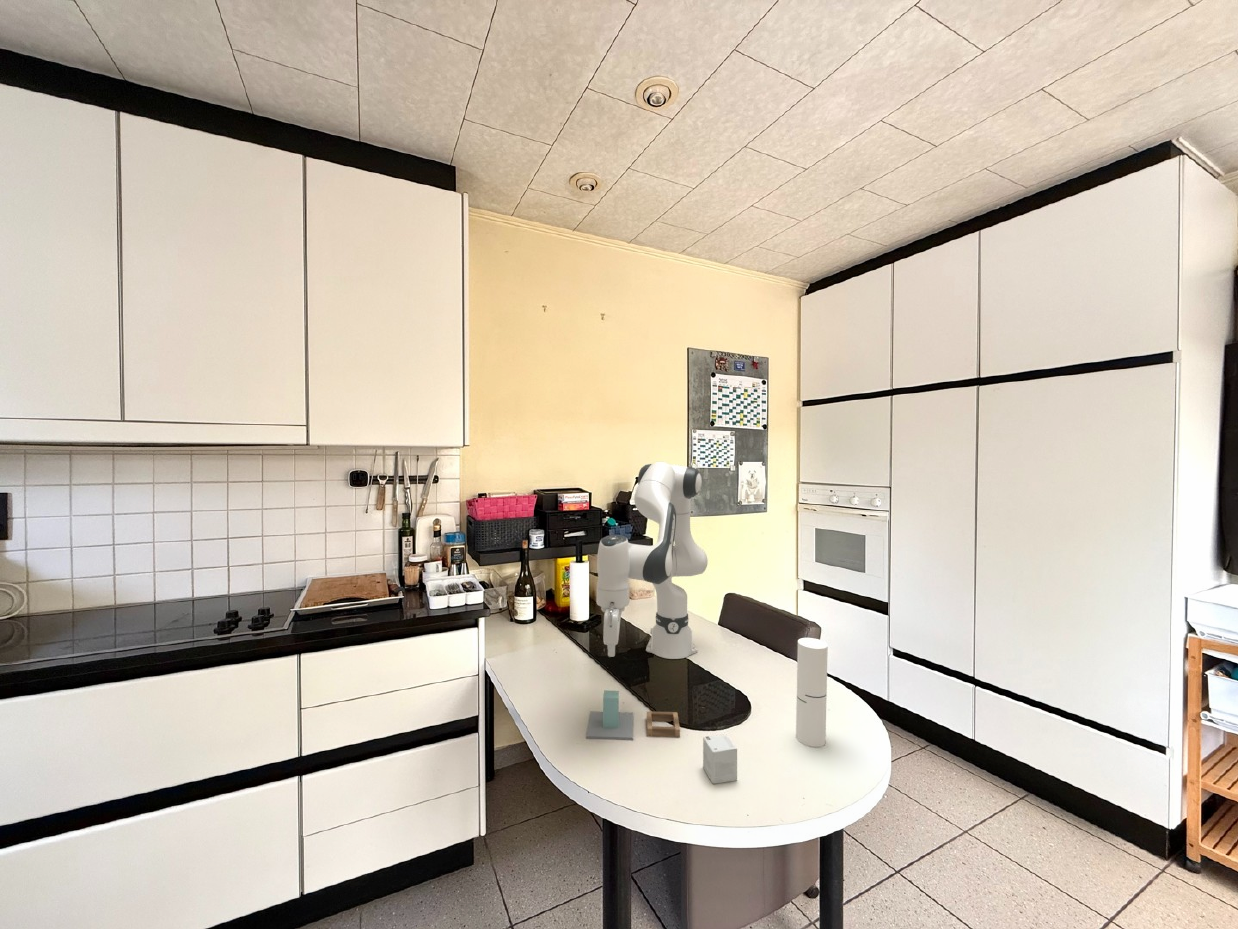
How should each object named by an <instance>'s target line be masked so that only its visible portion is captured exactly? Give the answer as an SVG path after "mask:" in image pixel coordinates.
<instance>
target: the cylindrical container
mask: <svg viewBox="0 0 1238 929" xmlns="http://www.w3.org/2000/svg"><path fill="white" fill-rule="evenodd" d="M828 647H829V646H828V643H827V642H826V641H824V640H821V639H819V638H813V637H802V638H799V639H798V640H797V659H796V660H797V665H796V667H797V669H796V707H795V708H796V709H795V710H796V712H795V713H796V714H795V715H796V716H795V718H796V719H795V738H796V740H797V741H799V742H800V743H801V744H803V745H805V746H807V747H812V748H822V747H824V745H826V739H827V738H826V737H827V735H826V734H827V733H826V732H827V731H826V730H827V700H828V699H827V697H828V696H827V693H828V692H827V690H828V688H827V687H828V652H829V651H828V649H829V648H828Z"/></svg>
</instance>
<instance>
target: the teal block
mask: <svg viewBox="0 0 1238 929" xmlns="http://www.w3.org/2000/svg"><path fill="white" fill-rule="evenodd" d="M619 691H620V690H603V697H602V712H603V728H618V720H619V712H620V710H619V708H620V707H619V702H620V699H619V698H620V696H619V695H620V692H619Z"/></svg>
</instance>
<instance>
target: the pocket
mask: <svg viewBox="0 0 1238 929" xmlns="http://www.w3.org/2000/svg"><path fill="white" fill-rule="evenodd" d="M678 715H679V714H678V712H677V711H646V730H647V732H646V733H647V737H656V738H657V737H658V738H659V737H662V738H663V737H664V738H680V737H681V728H680V722H679V716H678ZM671 721H673V722H672V724H673V726H659V725H658V726H656V725H653V722H671Z"/></svg>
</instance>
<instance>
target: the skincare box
mask: <svg viewBox="0 0 1238 929" xmlns="http://www.w3.org/2000/svg"><path fill="white" fill-rule="evenodd" d="M702 738H703V740H702V742H703V743H702V748H703V749H702V768H703V770H704V772H705V774H706V775H707V777H708V778H709V780H710V781H711V783H712V784H713V785H714V784H721V783H730V782H734V781H735V782H736V781H737V780H738V748H737V747H736V745H735V743H734V742H733V741H732V740H731V738H730V737H729V736H728V734H726V733H724V734H715V735H708V736H703V737H702Z"/></svg>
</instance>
